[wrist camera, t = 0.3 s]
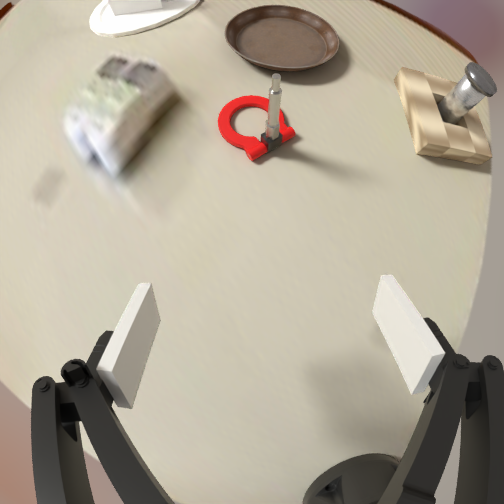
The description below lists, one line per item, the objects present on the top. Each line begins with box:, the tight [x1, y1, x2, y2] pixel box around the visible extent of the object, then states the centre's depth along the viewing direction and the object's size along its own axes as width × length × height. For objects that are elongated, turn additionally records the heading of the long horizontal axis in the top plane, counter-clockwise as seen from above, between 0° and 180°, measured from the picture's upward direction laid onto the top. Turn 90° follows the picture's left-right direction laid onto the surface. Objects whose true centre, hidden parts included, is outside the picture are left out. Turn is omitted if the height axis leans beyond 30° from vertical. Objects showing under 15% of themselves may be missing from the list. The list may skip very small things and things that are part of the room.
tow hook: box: [218, 73, 295, 161], centre depth 30 cm, size 8×13×9 cm
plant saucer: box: [225, 5, 339, 71], centre depth 37 cm, size 18×18×3 cm
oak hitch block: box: [394, 67, 492, 165], centre depth 35 cm, size 14×14×4 cm
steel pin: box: [437, 62, 497, 125], centre depth 30 cm, size 5×5×13 cm
